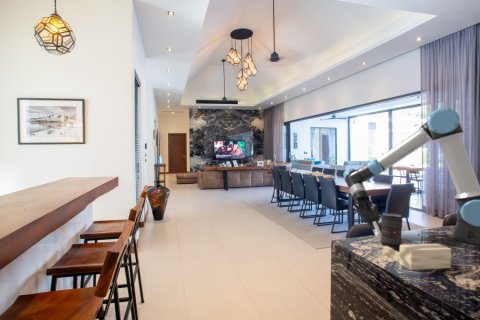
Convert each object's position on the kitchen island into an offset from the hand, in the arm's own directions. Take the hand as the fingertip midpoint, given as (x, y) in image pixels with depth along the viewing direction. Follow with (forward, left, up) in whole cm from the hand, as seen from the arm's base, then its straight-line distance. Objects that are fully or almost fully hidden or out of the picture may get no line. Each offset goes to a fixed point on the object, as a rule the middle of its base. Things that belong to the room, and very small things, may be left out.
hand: (378, 235), depth 131 cm
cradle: (-2, +21, -4) cm, 22 cm away
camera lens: (-1, +8, -4) cm, 9 cm away
